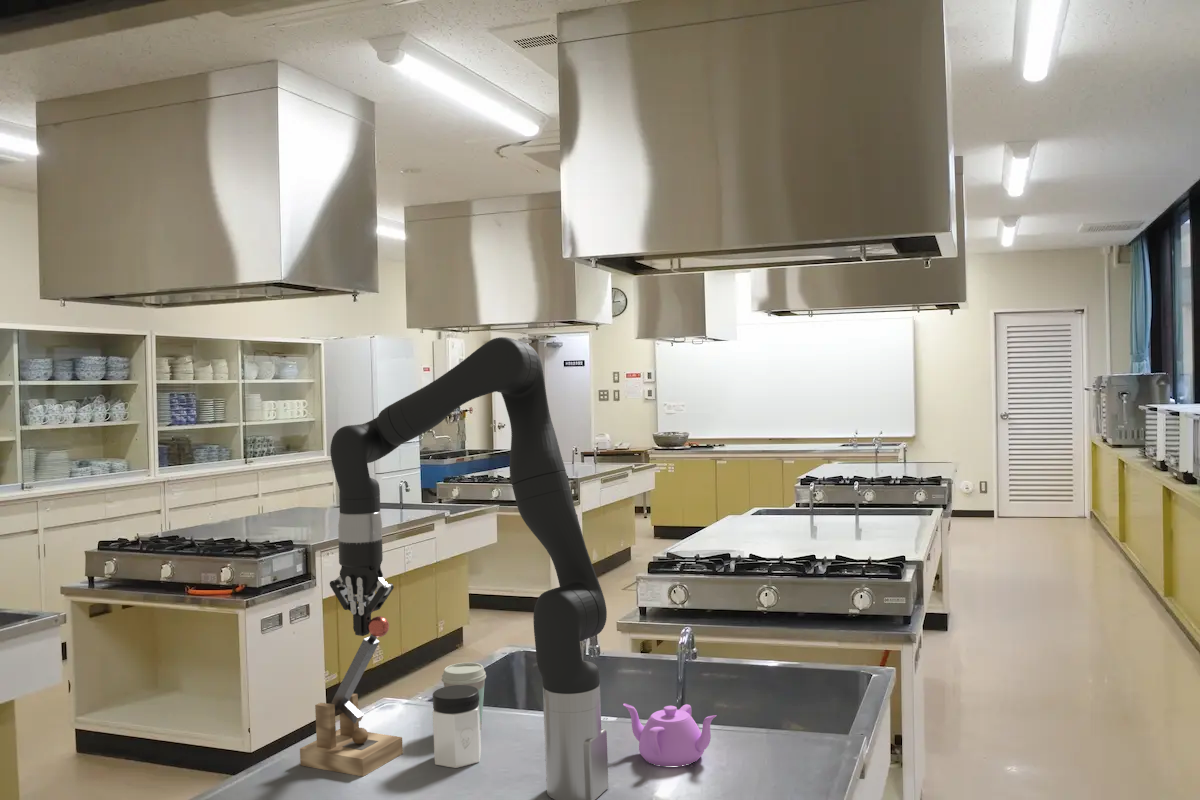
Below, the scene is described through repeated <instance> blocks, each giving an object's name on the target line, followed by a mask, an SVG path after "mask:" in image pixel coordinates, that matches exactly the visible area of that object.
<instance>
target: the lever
mask: <svg viewBox="0 0 1200 800" xmlns="http://www.w3.org/2000/svg"><path fill="white" fill-rule="evenodd" d="M368 630H369V634H370V635H369V636H367V637H365V638H363V640H362V641H361V644H360V645H359V647H358V650H357V651H356V653H355V655H354V657H353V658H352V661H351V663H350V665H349V667H348V669H347V671H346V673H345V675H344V677H343V679H342V681H341V683H340V685H339V687H338V688H337V691H336V692H335V694H334V697H332V698H333V699H332V701H331V702H330V704H334V705H335V717H338V716H340V714H342V713H344V714H345V715H346V716H347V717H348V718H349V719H350V720H351V721H353V722H354V723H357V722H361V721H362V719H363V718H364V716H365V714H364V713H363V712H362V711H361V710H359V708H358V709H357V708H356V707H355V706H354V705H353V704H352V703H351V702H350V701H349V700H350V698H351V696H352V694H354V692H355V690H356V689H357V686H358V685H359V682H360V680H361V679H362V676H363V675H364V673H365V671H366V669H367V667H368V665H369V663H370V661H371V660H372V657H373V656H374V653H375V651H376V650H377V648H378V646H379V644H380V640H379V639H378V638H382V637H384V636H385V635H387V634H388V632H389V630H390V622H389V621H388V619H387V618H386V617H384V616H381V615H380V616H374V617H373V618H371V621H370V622H369V625H368Z"/></svg>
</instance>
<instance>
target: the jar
mask: <svg viewBox="0 0 1200 800" xmlns="http://www.w3.org/2000/svg"><path fill="white" fill-rule="evenodd" d="M432 709H433V711H432V726H433V732H432V733H433V751H434V752H433V753H434V764H435V765H436V766H440V767H441V766H442V767H448V768H452V769H458V768H463V767H466V766H470V765H474V764H477V763H479V762H480V760H481V756H482V739H481V730H480V710H479V691H478V689H477V688H476V687H473V686H468V685H454V686H447V687H444V686H443V687H441V688H438V689H436V690H434V691H433V693H432Z"/></svg>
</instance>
